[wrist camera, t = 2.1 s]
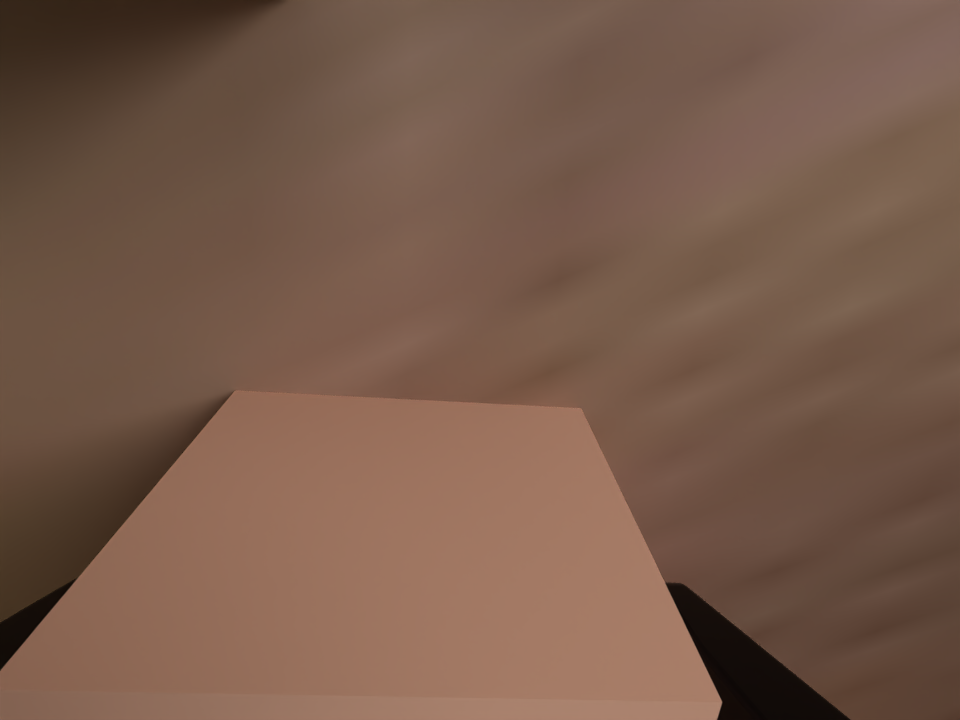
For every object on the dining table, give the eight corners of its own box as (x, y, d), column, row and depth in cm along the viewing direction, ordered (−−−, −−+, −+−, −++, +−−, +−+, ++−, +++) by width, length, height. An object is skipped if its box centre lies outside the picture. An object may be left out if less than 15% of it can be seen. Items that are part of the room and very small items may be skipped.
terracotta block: (579, 406, 9) (721, 702, 4) (541, 660, 11) (612, 1069, 6) (236, 387, 9) (-16, 689, 4) (254, 654, 10) (95, 1082, 6)
